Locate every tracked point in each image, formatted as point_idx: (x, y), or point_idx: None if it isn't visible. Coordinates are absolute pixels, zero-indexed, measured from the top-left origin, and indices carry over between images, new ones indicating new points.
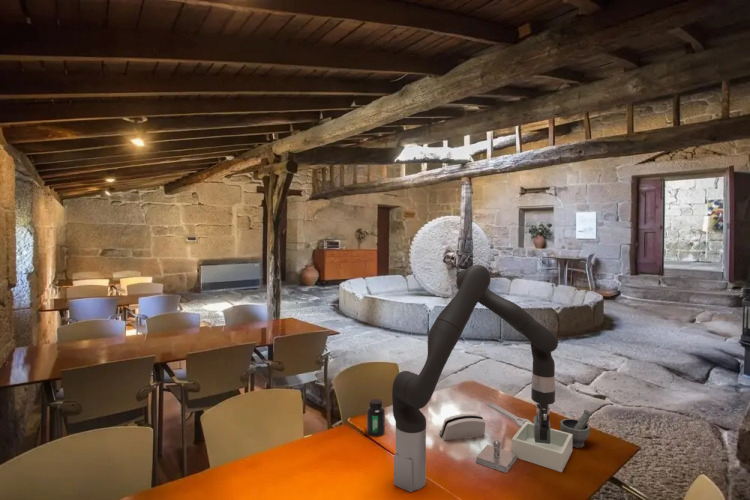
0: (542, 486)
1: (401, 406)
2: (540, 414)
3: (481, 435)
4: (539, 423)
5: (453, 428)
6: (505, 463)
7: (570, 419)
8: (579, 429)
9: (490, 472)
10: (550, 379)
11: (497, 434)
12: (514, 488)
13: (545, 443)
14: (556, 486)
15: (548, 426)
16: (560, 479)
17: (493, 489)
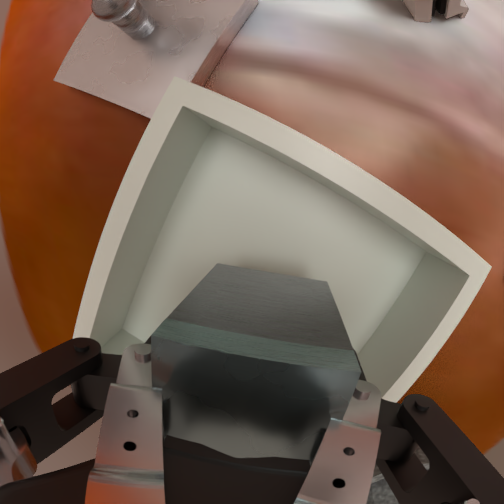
0: (21, 217)
1: None
2: (82, 464)
3: (406, 4)
4: (157, 376)
5: None
6: (75, 72)
7: None
8: (369, 500)
9: (77, 31)
10: None
11: (449, 90)
12: (7, 120)
13: (351, 335)
14: (32, 268)
15: (55, 414)
16: (68, 299)
17: (8, 62)
